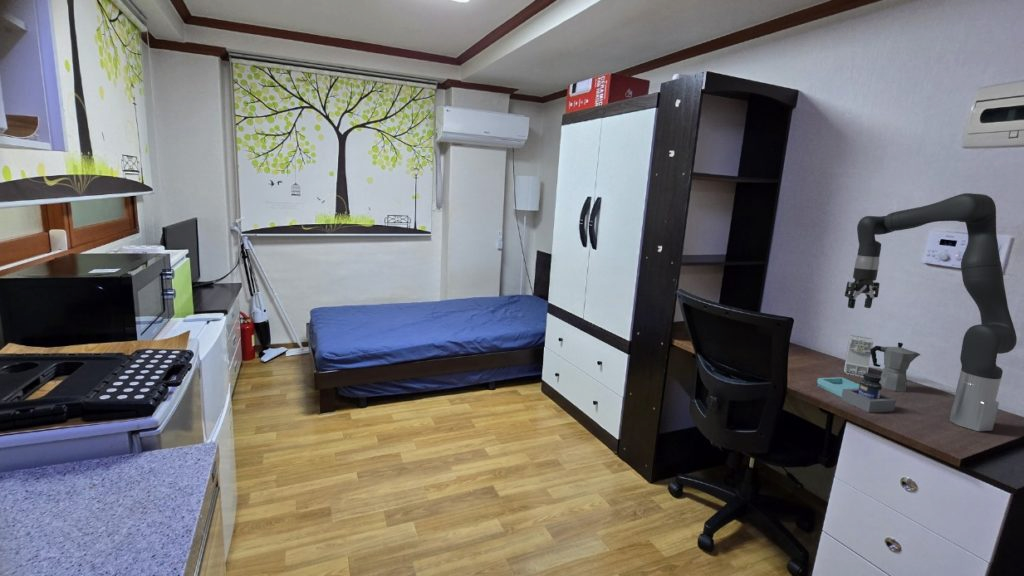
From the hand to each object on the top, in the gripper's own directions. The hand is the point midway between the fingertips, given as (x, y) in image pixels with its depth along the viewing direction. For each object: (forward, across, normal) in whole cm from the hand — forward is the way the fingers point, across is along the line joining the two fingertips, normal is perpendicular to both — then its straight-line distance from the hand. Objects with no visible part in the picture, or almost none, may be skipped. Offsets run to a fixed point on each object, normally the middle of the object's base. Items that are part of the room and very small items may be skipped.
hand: (859, 307), depth 190 cm
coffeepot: (+29, +5, -12) cm, 32 cm away
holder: (+29, -21, -25) cm, 44 cm away
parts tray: (+29, -18, -13) cm, 36 cm away
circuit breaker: (+29, +9, +4) cm, 31 cm away
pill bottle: (+29, -21, -25) cm, 44 cm away
